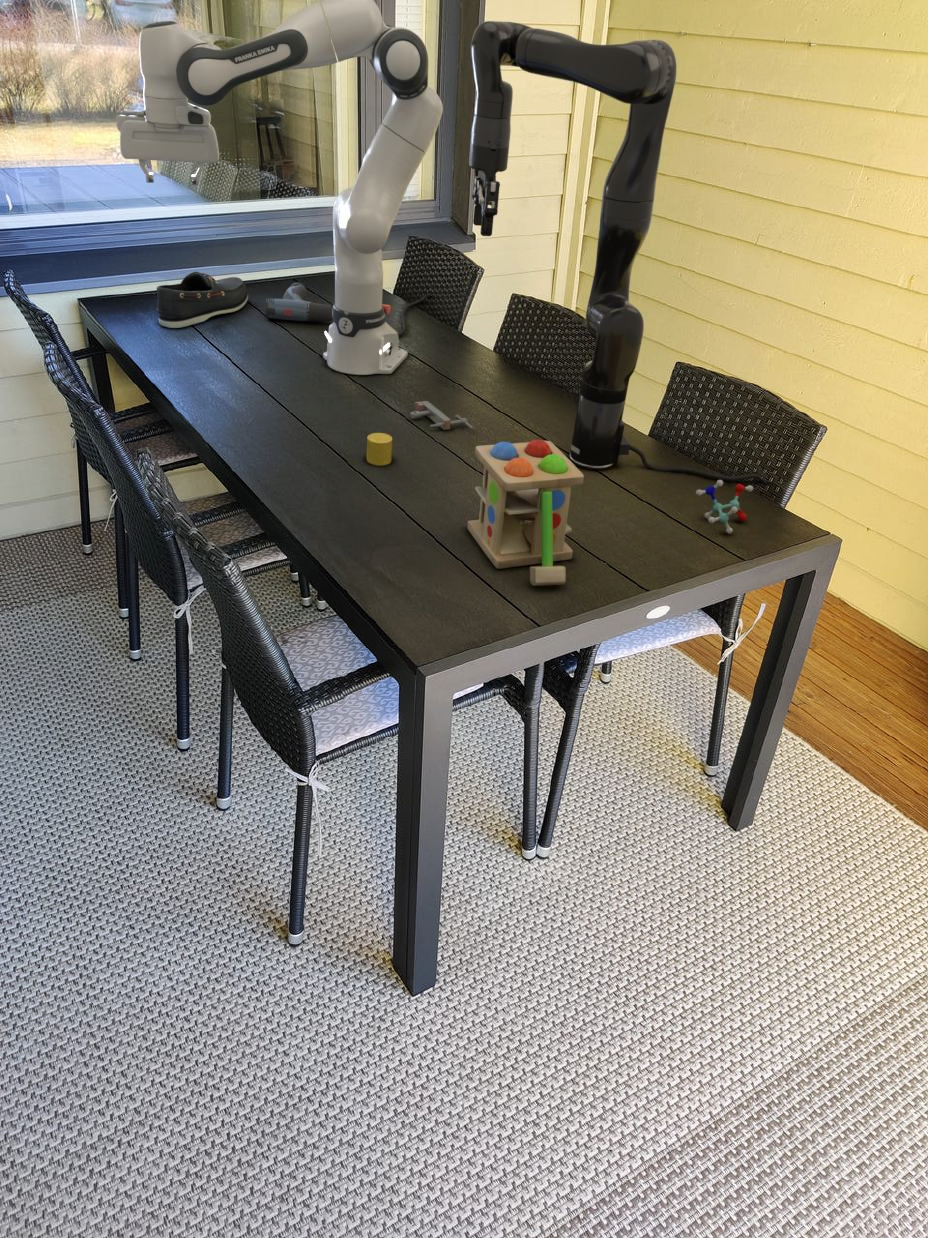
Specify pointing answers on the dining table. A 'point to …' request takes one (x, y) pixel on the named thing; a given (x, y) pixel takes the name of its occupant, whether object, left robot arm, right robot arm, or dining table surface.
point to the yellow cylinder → (379, 449)
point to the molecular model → (719, 507)
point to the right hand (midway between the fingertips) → (482, 230)
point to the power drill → (297, 306)
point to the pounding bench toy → (525, 507)
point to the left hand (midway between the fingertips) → (173, 183)
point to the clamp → (436, 416)
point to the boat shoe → (199, 299)
